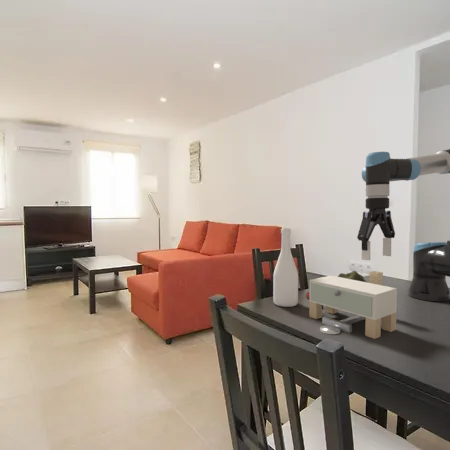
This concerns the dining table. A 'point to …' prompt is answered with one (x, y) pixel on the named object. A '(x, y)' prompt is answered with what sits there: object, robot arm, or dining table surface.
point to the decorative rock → (352, 276)
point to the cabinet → (355, 301)
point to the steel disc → (330, 329)
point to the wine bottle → (285, 275)
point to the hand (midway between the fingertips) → (376, 257)
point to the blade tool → (345, 323)
